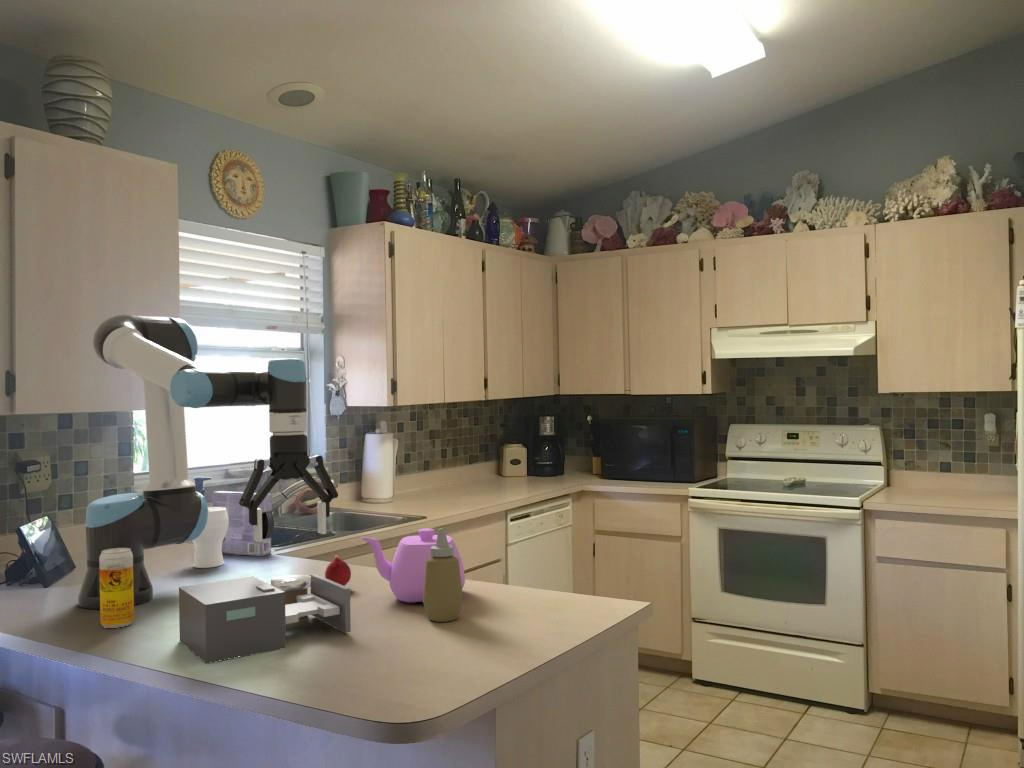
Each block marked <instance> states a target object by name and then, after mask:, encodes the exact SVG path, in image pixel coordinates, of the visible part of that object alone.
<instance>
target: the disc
mask: <svg viewBox="0 0 1024 768" xmlns="http://www.w3.org/2000/svg"><path fill="white" fill-rule="evenodd" d="M270 585H272V586H274V587H276V588H278V589H280V590H282V591H297V590H302V589H306V588H307V589H309V588H311V578H310V575H307V574H285V575H281V576H276V577H273V578H271V580H270Z"/></svg>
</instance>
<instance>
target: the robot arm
mask: <svg viewBox="0 0 1024 768" xmlns="http://www.w3.org/2000/svg"><path fill="white" fill-rule="evenodd" d="M92 346H93V350H94V352H95V354H96V355H97V357H98V358H99V360H101V361H102V362H104V363H105V364H107V365H109V366H110V367H113V368H114V369H119V370H124V369H127V370H128V371H130V372H133V373H134V374H135V375H136V376H137V377H138V378H140V379H141V380H142V381H143V393H144V394H143V396H144V410H145V426H146V427H145V429H146V440H147V441H146V444H147V446H146V447H147V460H148V462H147V463H148V479H149V482H148V484H146V485H145V487H144V488H143V489H142V493H139V492H126V493H121V494H120V493H119V494H118V493H117V494H112V495H108V496H105V497H100V498H98V499H95V500H93V501H92V502H90V503H89V504H88V505H87V507H86V510H85V511H86V512H85V513H86V514H85V522H84V525H85V545H86V546H85V547H86V549H85V550H86V552H85V553H86V571H85V573H84V577H83V580H82V583H81V586H80V589H79V591H78V592H79V593H78V600H77V601H78V603H77V604H78V606H79V607H80V608H84V609H89V610H100V567H99V557H100V555H101V552H102V551H103V550H107V549H113V548H130V549H131V552H132V554H133V593H134V606H135V605H140V604H142V603H146V602H147V601H150V600H152V599H153V598H154V588H153V584H152V582H151V579H150V576H149V573H148V571H147V567H146V565H145V554H144V553H145V551H144V550H147V549H152V548H154V549H155V548H158V547H164V546H170V545H181V544H184V543H186V542H191V541H192V540H194V539H196V538H197V537H199V536H200V534H201V533H202V531H203V530H204V528H205V526H206V523H207V519H208V507H209V506H208V502H207V501H206V500H205V499H206V497H205V496H204V495H203V494H202V493H200V492H199V491H197V486H196V483H194V482H193V481H191V479H190V477H189V467H188V466H189V464H188V452H187V451H188V450H187V435H186V434H187V433H186V420H185V419H186V417H185V408H191V409H200V408H215V407H216V408H217V407H218V408H219V407H243V406H244V407H256V406H268V408H269V409H268V413H269V414H268V415H269V421H268V423H269V424H268V425H269V428H268V429H269V431H268V432H270V433H272V435H270V437H269V459H262V458H261V459H260V458H256V459H254V464H253V471H252V473H251V475H250V477H249V480H248V482H247V483H246V486H245V489H244V490H243V491H242V492H243V495H242V497H241V499H240V501H239V505H240V506H244V507H247V508H248V509H249V523H250V525H254V541H257V542H262V509H259V508H258V506H259V505H260V504H261V502H262V501H263V500H264V498H265V497H266V496H267V494H270V492H271V490H272V489H273V488H274V487H275V485H276V484H277V483H279V481H280V480H283V481H284V480H285V481H286V480H291V479H294V480H296V479H297V480H298V479H302V480H303V481H304V483H305V485H307V486H308V487H309V488H310V490H311V491H312V492H313V493H314V494H315V495H316V496H317V497H318V498H319V500H321V501H317V503H316V506H317V507H316V508H317V509H316V510H317V512H316V514H317V518H316V519H317V533H318V534H321V535H326V534H327V518H329V517H330V515H331V514H330V513H331V511H330V506H331V502H332V500H334V499H337V498H338V497H339V492H338V491H337V489H336V486H335V485H334V483H333V481H332V479H331V478H330V475H329V474H328V472H327V469H326V468H325V466H324V465H325V464H324V458H323V455H321V454H319V455H318V454H314V455H313V456H309V454H308V451H309V450H308V435H307V434H306V433H305V432H307V431H308V410H307V409H308V407H307V406H308V405H307V403H308V402H307V400H308V399H307V394H308V393H307V380H308V378H307V371H306V370H307V369H306V363H305V361H304V360H303V359H302V358H273V359H270V360H269V361H268V364H267V369H211V368H210V369H209V368H206V367H204V366H202V365H199V364H198V363H196V362H194V361H196V358H197V357H196V356H197V354H198V347H199V346H198V339H197V336H196V333H195V331H194V329H193V328H192V326H191V325H189V323H188V322H187V321H185V320H184V319H181V318H178V317H177V318H176V317H170V316H155V315H154V316H153V315H136V314H135V315H133V314H119V315H118V314H117V315H115V316H112V317H109V318H107V319H105V320H104V321H102V323H100V324H99V326H98V327H97V329H96V330H95V332H94V334H93V337H92ZM310 464H311V466H312V467H314V470H315V473H316V474H317V476H318V478H319V480H320V482H321V483H322V485H323V487H321V485H320V484H319V483H318V482H317V481H316V480H315V478H313V477H312V474H311V473H310V472H309V471H308V469H307V468H308V466H310ZM268 467H269V468H270V470H271V472H270V473H269V475H268V476H267V478H266V480H265V481H264V482H263V484H262V485H261V486H260V487H259V489H258V491H256V489H257V487H258V485H259V483H260V481H261V479H262V477H263V474H264V471H266V470H267V468H268ZM323 488H324V489H325V490H324V489H323ZM254 493H256V494H255V496H254V497H253V494H254ZM252 497H253V498H252ZM251 499H252V500H251Z"/></svg>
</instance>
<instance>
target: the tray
mask: <svg viewBox="0 0 1024 768" xmlns="http://www.w3.org/2000/svg"><path fill="white" fill-rule="evenodd" d="M309 576H310V578H311V586H310V593H308V594H305V595H299V596H297V603H293V604H287V605H285V620H286V625H288V624H293V623H299V621H300V620H299V618H298V617H301V616H307V615H308V616H313V617H314V618H316V619H319V620H320V621H322V622H324V623H326V624H327V625H330V626H331V627H334V628H335V629H338V630H339V631H342V632H343V633H351V632H352V631H351V626H352V625H351V622H352V621H351V588H350V587H348V586H346V585H345V586H343V585H341V584H338V583H336V582H333V581H331V580H329V579H326V578H325V577H324V576H321V575H318V574H316V573H312V574H309ZM308 616H307V617H308Z"/></svg>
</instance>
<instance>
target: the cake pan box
mask: <svg viewBox="0 0 1024 768" xmlns="http://www.w3.org/2000/svg"><path fill="white" fill-rule="evenodd" d="M243 492H244V491H230V490H229V491H228V490H218V491H217V490H216V491H213V492H212V507H225V508H226V510H227V514H228V522H229V525H228V529H227V533H226V535H225V537H224V539H223V542H222V550H221V551H222V554H229V555H239V556H253V557H264V556H268V555H271V554H272V535H273V532H274V530H275V519H274V514H273V511H272V510H273V494H272V493H268V494H267V496H266V497H265V498H264V500H263V501H262V502H261V504H260V505H259V506H258V508H259V509H262V542H257V541H254V525H250V523H249V509H248V508H247V507H244V506H240V505H239V501H240V499H241V497H242V495H243ZM256 493H257V492H254V494H253V497H254V496H255V494H256ZM253 497H252V498H253ZM251 500H252V499H251Z"/></svg>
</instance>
